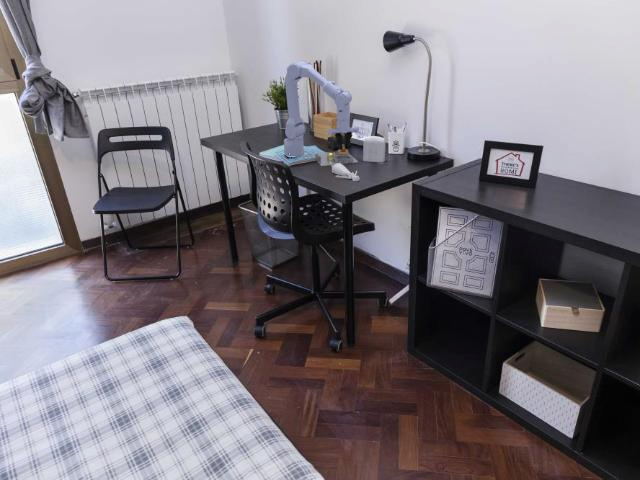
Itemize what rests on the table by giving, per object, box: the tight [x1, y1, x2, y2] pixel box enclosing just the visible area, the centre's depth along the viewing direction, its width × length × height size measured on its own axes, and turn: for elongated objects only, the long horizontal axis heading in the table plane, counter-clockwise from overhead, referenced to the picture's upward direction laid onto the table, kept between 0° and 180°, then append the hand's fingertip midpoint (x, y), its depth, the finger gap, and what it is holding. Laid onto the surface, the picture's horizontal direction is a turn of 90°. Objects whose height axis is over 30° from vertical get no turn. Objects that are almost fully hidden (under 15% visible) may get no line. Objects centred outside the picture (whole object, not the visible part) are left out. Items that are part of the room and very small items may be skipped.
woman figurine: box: [331, 163, 360, 182], centre depth 208 cm, size 12×4×18 cm
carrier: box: [310, 150, 359, 167], centre depth 229 cm, size 18×20×4 cm
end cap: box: [326, 134, 351, 150], centre depth 245 cm, size 10×7×7 cm
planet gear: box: [337, 144, 350, 155], centre depth 224 cm, size 5×5×4 cm
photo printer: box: [362, 135, 386, 165], centre depth 222 cm, size 10×4×12 cm, turn 73°
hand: (343, 148), depth 223 cm, fingers closed on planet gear, 2 cm apart
